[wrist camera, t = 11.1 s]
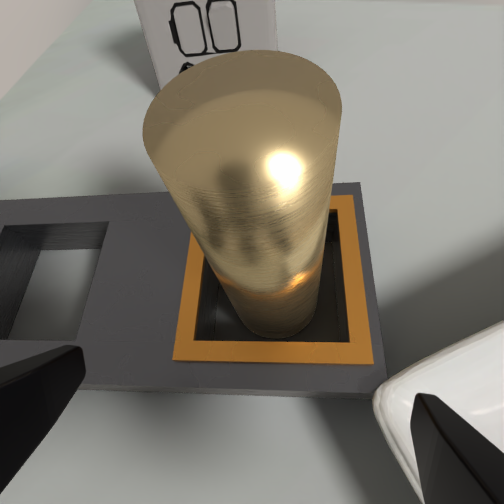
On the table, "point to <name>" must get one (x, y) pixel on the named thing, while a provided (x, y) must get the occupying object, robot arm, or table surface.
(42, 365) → the robot arm
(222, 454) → the table surface
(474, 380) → the square plate
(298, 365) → the grey peg board
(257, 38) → the electrical switch
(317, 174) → the brass pin
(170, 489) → the table surface
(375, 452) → the table surface
